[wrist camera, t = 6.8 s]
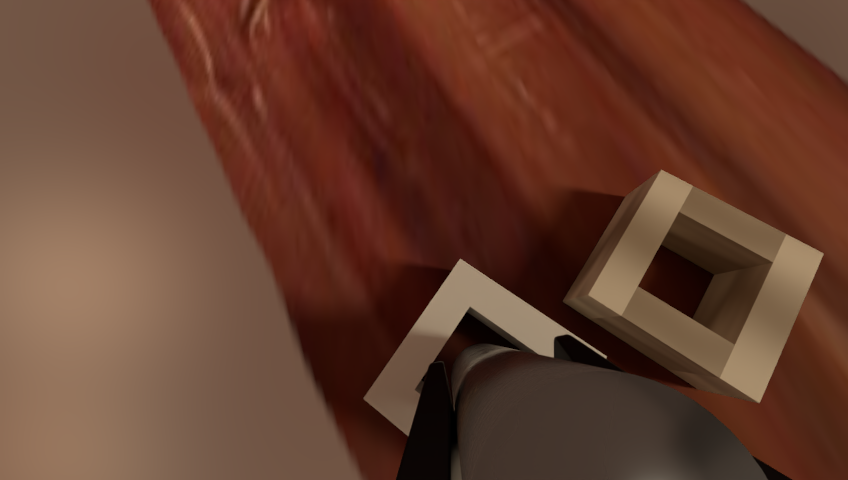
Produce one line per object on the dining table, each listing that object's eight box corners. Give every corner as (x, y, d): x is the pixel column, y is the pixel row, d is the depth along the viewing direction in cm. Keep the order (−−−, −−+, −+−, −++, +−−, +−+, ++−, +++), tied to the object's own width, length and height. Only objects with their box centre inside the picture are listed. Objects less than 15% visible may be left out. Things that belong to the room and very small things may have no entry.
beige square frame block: (697, 389, 17) (759, 403, 14) (562, 301, 19) (587, 294, 15) (755, 267, 19) (823, 253, 15) (625, 196, 20) (661, 169, 17)
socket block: (500, 486, 17) (514, 525, 13) (378, 386, 18) (363, 398, 15) (576, 352, 18) (606, 356, 15) (457, 271, 20) (460, 258, 16)
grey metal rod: (495, 432, 15) (725, 880, 3) (437, 387, 15) (407, 577, 3) (532, 370, 15) (852, 505, 3) (474, 329, 16) (563, 314, 4)
